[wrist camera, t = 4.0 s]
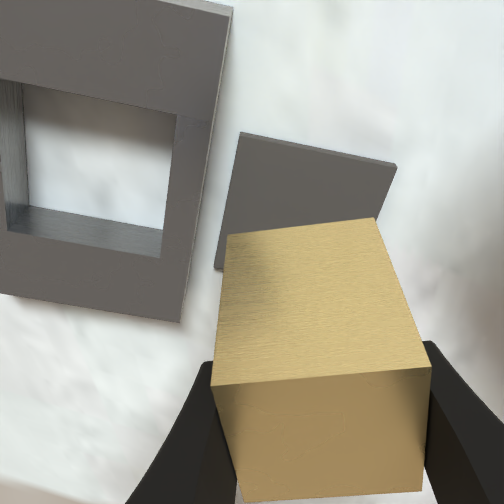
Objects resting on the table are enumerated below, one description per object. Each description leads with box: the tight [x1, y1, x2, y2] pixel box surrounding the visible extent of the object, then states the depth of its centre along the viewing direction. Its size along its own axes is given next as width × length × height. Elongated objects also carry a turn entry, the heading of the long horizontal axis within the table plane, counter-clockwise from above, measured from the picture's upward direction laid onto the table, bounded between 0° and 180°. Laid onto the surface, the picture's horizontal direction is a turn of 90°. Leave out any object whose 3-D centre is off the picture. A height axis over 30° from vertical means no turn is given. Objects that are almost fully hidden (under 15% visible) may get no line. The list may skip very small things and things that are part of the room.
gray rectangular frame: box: [0, 0, 233, 323], centre depth 18 cm, size 8×12×2 cm, turn 168°
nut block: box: [211, 217, 432, 503], centre depth 14 cm, size 4×4×6 cm
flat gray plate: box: [214, 132, 397, 269], centre depth 20 cm, size 6×6×1 cm
